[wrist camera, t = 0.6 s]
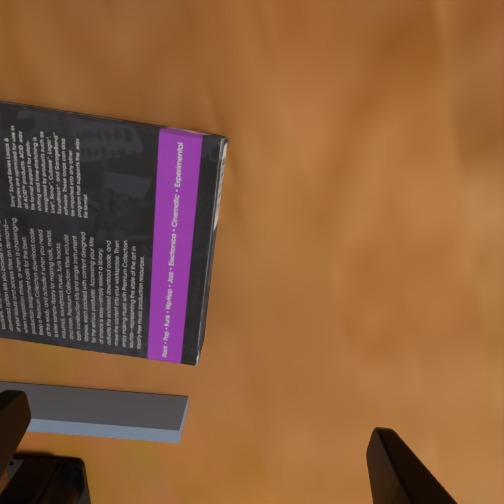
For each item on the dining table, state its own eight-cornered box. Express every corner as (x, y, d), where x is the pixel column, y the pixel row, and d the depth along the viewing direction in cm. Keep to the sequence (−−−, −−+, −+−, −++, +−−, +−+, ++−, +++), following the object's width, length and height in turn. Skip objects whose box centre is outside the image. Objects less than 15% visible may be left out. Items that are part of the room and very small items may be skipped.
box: (231, 135, 19) (-120, 76, 18) (227, 138, 16) (-201, 65, 15) (205, 335, 24) (-73, 297, 23) (197, 368, 21) (-126, 325, 20)
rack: (188, 408, 26) (179, 443, 23) (-43, 389, 26) (-80, 422, 23) (191, -53, 15) (176, -91, 13) (-197, -86, 15) (-298, -131, 13)
